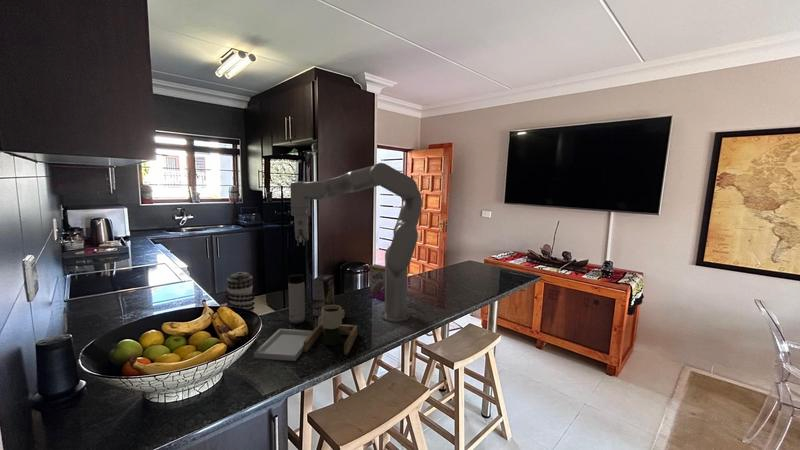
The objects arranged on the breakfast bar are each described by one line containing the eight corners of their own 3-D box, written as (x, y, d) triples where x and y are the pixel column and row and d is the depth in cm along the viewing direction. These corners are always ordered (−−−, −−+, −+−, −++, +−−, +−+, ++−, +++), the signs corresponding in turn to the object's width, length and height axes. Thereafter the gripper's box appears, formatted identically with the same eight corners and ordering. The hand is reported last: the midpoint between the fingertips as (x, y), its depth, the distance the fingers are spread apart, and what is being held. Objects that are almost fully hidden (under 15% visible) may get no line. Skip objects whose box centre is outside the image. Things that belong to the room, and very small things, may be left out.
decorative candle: (228, 338, 119) (225, 271, 116) (256, 333, 123) (253, 269, 120) (226, 349, 111) (223, 278, 108) (256, 344, 115) (254, 275, 112)
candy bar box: (368, 297, 165) (368, 265, 163) (374, 294, 169) (374, 263, 167) (386, 301, 159) (387, 269, 157) (392, 299, 164) (393, 267, 162)
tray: (315, 335, 123) (315, 330, 122) (295, 360, 105) (295, 355, 105) (279, 333, 124) (279, 328, 124) (253, 357, 106) (253, 352, 106)
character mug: (338, 335, 123) (338, 302, 122) (350, 341, 118) (350, 307, 117) (313, 344, 115) (312, 309, 114) (324, 352, 111) (323, 315, 109)
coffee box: (326, 317, 140) (326, 280, 138) (312, 315, 141) (311, 279, 139) (334, 309, 148) (334, 274, 147) (321, 308, 150) (321, 273, 148)
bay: (357, 334, 124) (357, 325, 124) (347, 354, 109) (347, 344, 109) (319, 331, 126) (318, 323, 125) (303, 351, 111) (303, 341, 110)
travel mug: (290, 325, 131) (289, 276, 129) (288, 319, 137) (287, 272, 135) (306, 322, 134) (305, 275, 132) (303, 316, 140) (302, 271, 137)
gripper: (309, 213, 126) (310, 256, 128) (310, 210, 143) (311, 248, 145) (289, 213, 124) (290, 257, 126) (292, 210, 141) (293, 249, 143)
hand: (301, 252), depth 135 cm, fingers open, 9 cm apart
